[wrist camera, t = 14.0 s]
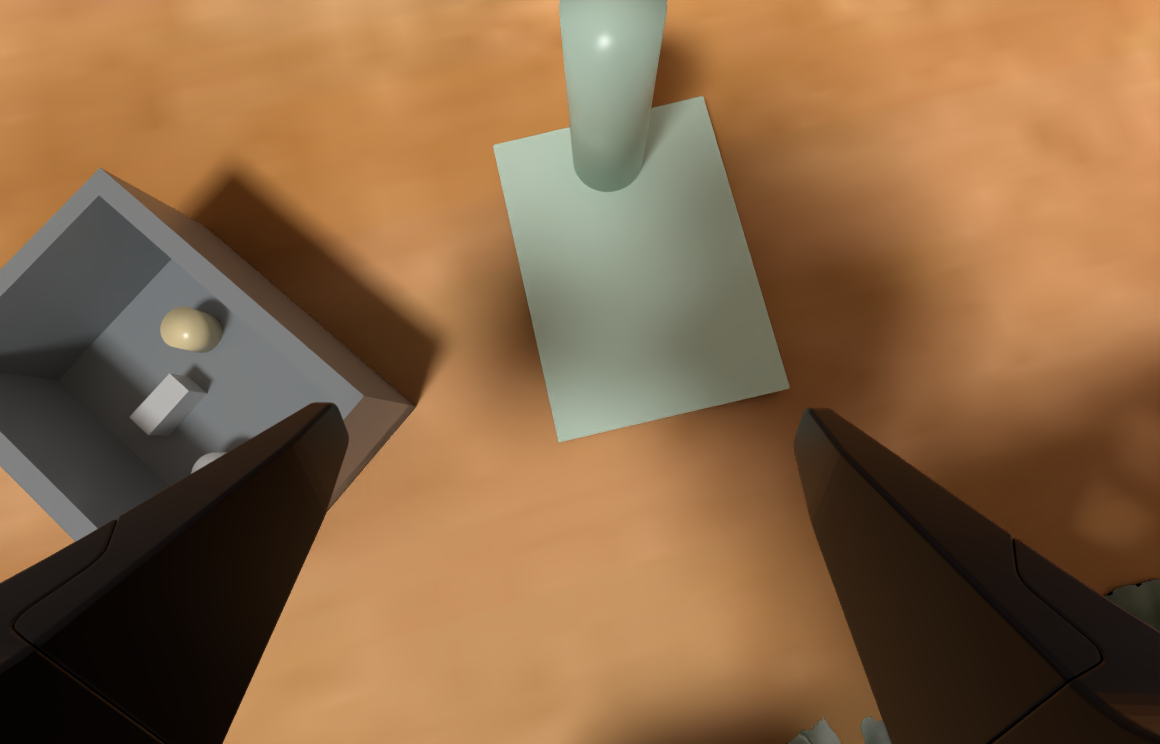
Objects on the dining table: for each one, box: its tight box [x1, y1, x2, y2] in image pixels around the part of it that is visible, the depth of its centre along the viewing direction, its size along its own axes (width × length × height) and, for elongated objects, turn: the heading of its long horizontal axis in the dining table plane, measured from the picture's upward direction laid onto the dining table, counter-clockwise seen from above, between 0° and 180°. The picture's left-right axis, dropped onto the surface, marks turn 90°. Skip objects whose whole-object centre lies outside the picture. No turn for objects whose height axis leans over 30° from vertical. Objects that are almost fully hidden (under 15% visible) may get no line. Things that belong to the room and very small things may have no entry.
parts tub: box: [0, 168, 416, 542], centre depth 20 cm, size 10×14×5 cm
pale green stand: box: [493, 0, 790, 442], centre depth 18 cm, size 10×14×9 cm
